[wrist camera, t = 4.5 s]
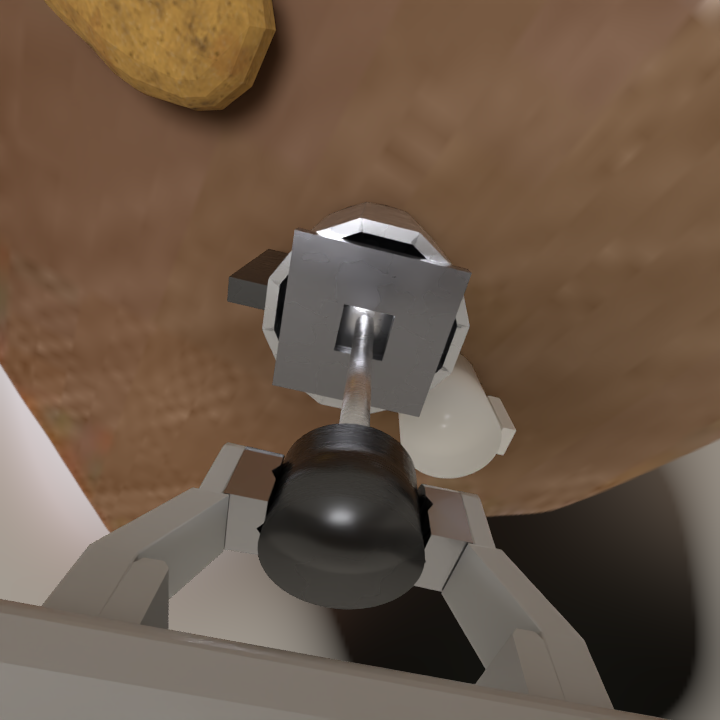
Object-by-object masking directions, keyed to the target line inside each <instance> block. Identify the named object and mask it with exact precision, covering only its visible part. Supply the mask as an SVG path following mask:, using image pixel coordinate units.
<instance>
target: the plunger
mask: <svg viewBox="0 0 720 720" xmlns="http://www.w3.org/2000/svg"><path fill="white" fill-rule="evenodd" d="M392 318H393V315H389V314H384V313H380V312H376V311H372V310H367V309H363V308H359V307H355V306H350V305H346V304H344V308H343V312H342V317H341V321H340V326H339V330H338V335H337V339H336V344H337V345H341V346H346V347H350V348H351V354H350V360H349V366H348V372H347V378H346V385H345V391H344V397H343V403H342V409H341V415H340V421H339V424H332V425H327V426H323V427H320V428H317V429H315V430H312V431H310V432H308V433H307V434H305V435H303V436H302V437H301V438H300V439H298V440H297V441H296V442H295V443H294V444H293V445H292V447H291V448H290V450H289V451H288V453H287V455H286V457H285V460H284V464H283V467H282V470H281V473H280V476H279V480H278V482H277V485H276V487H275V490H274V493H273V498H272V501H271V504H270V507H269V510H268V513H267V516H266V519H265V521H264V524H263V527H262V530H261V533H260V536H259V540H258V549H257V550H258V557H259V560H260V563H261V565H262V567H263V569H264V571H265V572H266V573H267V575H268V576H269V578H270V579H271V580H272V581H273V582H274V583H275V584H276V585H278V586H279V587H280V588H281V589H283V590H284V591H286V592H287V593H289V594H290V595H292V596H295V597H296V598H299V599H301V600H303V601H306V602H309V603H312V604H315V605H319V606H324V607H329V608H337V609H360V608H368V607H374V606H378V605H381V604H384V603H387V602H389V601H392V600H394V599H396V598H398V597H400V596H401V595H403V594H404V593H406V592H407V591H408V590H409V589H410V588H412V587H413V586H414V584H415V583H416V582H417V581H418V579H419V578H420V576H421V574H422V571H423V569H424V564H425V550H424V541H423V532H422V524H421V515H420V506H419V498H418V489H417V481H416V472H415V467H414V464H413V461H412V459H411V457H410V455H409V454H408V452H407V451H406V450H405V448H404V447H403V446H402V445H401V444H400V443H399V442H398V441H397V440H395V439H394V438H392V437H391V436H390V435H388V434H386V433H384V432H382V431H380V430H377V429H375V428H372V427H370V405H371V381H372V358H373V353H376V354H381V355H382V353H383V350H384V346H385V343H386V339H387V336H388V332H389V329H390V325H391V322H392Z"/></svg>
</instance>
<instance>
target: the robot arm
mask: <svg viewBox="0 0 720 720" xmlns="http://www.w3.org/2000/svg"><path fill="white" fill-rule="evenodd" d="M284 457H285V456H284V455H282V454H278V453H273V452H269V451H265V450H261V449H256V448H252V447H248V446H247V447H246V446H242V445H237V444H233V443H229V442H227V443H226V444H225V445H224V446H223V447H222V449H221V451H220V453H219V454H218V456H217V458H216V459H215V461H214V463H213V465H212V466H211V468H210V470H209V472H208V473H207V475H206V477H205V479H204V480H203V482H202V484H201V486H200V487H199V489H198V488H191V489H189V490H187V491H185V492H184V493H182V494H180V495H178V496H176V497H175V498H173V499H171V500H169V501H167V502H166V503H164V504H162V505H160V506H158V507H157V508H155V509H153V510H151V511H149V512H148V513H146V514H144V515H142V516H140V517H138V518H137V519H135V520H133V521H131V522H129V523H128V524H126V525H124V526H122V527H120V528H119V529H117V530H115V531H113V532H111V533H110V534H108V535H106V536H104V537H102V538H101V539H99V540H97V541H95V542H94V543H92V544H90V545H89V546H88V547H87V549H86V550H85V551H84V552H83V554H82V555H81V556H80V558H79V559H78V560H77V561H76V563H75V564H74V565H73V566H72V568H71V569H70V570H69V572H68V573H67V574H66V575H65V577H64V578H63V579H62V580H61V582H60V583H59V584H58V586H57V587H56V588H55V589H54V591H53V592H52V593H51V595H50V596H49V597H48V598H47V600H46V601H45V602H44V603H43V605H42V606H36V605H30V604H24V603H19V602H14V601H8V600H2V599H0V720H668V719H663V718H657V717H652V716H646V715H640V714H635V713H629V712H624V711H619V710H614V709H613V706H612V704H611V702H610V699H609V697H608V695H607V692H606V690H605V688H604V685H603V683H602V681H601V678H600V676H599V674H598V672H597V669H596V667H595V665H594V662H593V660H592V658H591V655H590V653H589V651H588V648H587V646H586V644H585V641H584V639H583V638H581V636H580V635H579V634H578V633H577V632H576V631H575V630H574V629H573V627H572V626H571V625H570V624H569V623H568V622H567V621H566V620H565V619H564V618H563V617H562V615H561V614H560V613H559V612H558V611H557V610H556V609H555V608H554V607H553V606H552V605H551V604H550V603H549V601H548V600H547V599H546V598H545V597H544V596H543V595H542V594H541V593H540V591H538V589H537V588H536V587H535V586H534V585H533V584H532V583H531V582H530V581H529V580H528V578H527V577H526V576H525V575H524V574H523V573H522V572H521V571H520V570H519V569H518V568H517V567H516V565H515V564H514V563H513V562H512V561H511V560H510V559H509V558H508V557H507V556H506V554H505V553H504V552H503V551H502V550H499V549H496V548H495V545H494V542H493V539H492V535H491V532H490V529H489V526H488V522H487V519H486V516H485V513H484V510H483V507H482V503H481V500H480V498H479V496H478V495H477V494H471V493H466V492H461V491H455V490H450V489H445V488H440V487H435V486H430V485H425V484H421V485H420V487H419V488H418V498H419V506H420V515H421V524H422V532H423V541H424V550H425V564H424V569H423V571H422V574H421V576H420V578H419V579H418V581H417V582H416V583H415V584H414V586H419V587H423V588H428V589H432V590H437V591H442V595H443V597H444V599H445V600H446V602H447V604H448V605H449V607H450V609H451V610H452V612H453V614H454V616H455V617H456V619H457V621H458V622H459V624H460V626H461V628H462V629H463V631H464V633H465V635H466V636H467V638H468V639H469V641H470V643H471V645H472V646H473V648H474V650H475V651H476V653H477V655H478V657H479V658H480V660H481V662H482V663H483V665H484V667H485V669H486V670H485V672H484V673H483V674H482V676H481V677H480V679H479V680H478V681H477V683H476V684H475V685H474V684H469V683H463V682H458V681H452V680H446V679H441V678H435V677H430V676H424V675H419V674H412V673H408V672H402V671H396V670H390V669H385V668H380V667H374V666H369V665H363V664H358V663H352V662H346V661H341V660H335V659H330V658H324V657H318V656H313V655H307V654H301V653H296V652H291V651H285V650H280V649H274V648H268V647H263V646H257V645H252V644H246V643H241V642H235V641H230V640H223V639H218V638H213V637H207V636H202V635H196V634H191V633H185V632H179V631H174V630H169V629H168V610H169V609H168V607H169V605H168V604H169V599H170V598H171V597H172V596H173V595H175V594H176V593H177V592H178V591H179V590H180V589H181V588H182V587H184V586H185V585H186V584H187V583H188V582H189V581H190V580H192V579H193V578H194V577H195V576H196V575H197V574H198V573H200V572H201V571H202V570H203V569H204V568H205V567H206V566H207V565H209V564H210V563H211V562H212V561H213V560H214V559H215V558H217V557H218V556H219V555H220V554H221V553H222V552H223V549H225V550H231V551H237V552H243V553H249V554H256V555H258V550H257V549H258V540H259V536H260V533H261V530H262V527H263V524H264V521H265V519H266V516H267V513H268V510H269V507H270V504H271V501H272V498H273V493H274V490H275V487H276V485H277V482H278V480H279V476H280V473H281V470H282V467H283V464H284Z"/></svg>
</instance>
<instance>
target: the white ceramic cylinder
mask: <svg viewBox="0 0 720 720" xmlns="http://www.w3.org/2000/svg"><path fill="white" fill-rule="evenodd" d="M399 427H400V441H401V445H402V446H403V447H404V448H405V450H406V451H407V452H408V454H409V455H410V457H411V459H412V461H413V464H414V467H415V469H417V470H418V471H420V472H422V473H424V474H427V475H429V476H433V477H438V478H458V477H463V476H467V475H469V474H472V473H474V472H476V471H478V470H480V469H482V468H483V467H484V466H486V465H487V464H488V463H489V462H490V461H491V460H492V459H493V458H494V456H495V455H496V454H499V455H504V453H505V451H506V449H507V447H508V445H509V444H510V442H511V440H512V438H513V436H514V434H515V432H516V429H515V427H514V425H513V423H512V421H511V419H510V417H509V415H508V414H507V412H506V410H505V408H504V406H503V404H502V402H501V400H500V398H497V397H492V396H488V397H486V395H485V392H484V390H483V388H482V386H481V384H480V382H479V380H478V377H477V375H476V373H475V371H474V369H473V367H472V365H471V363H470V362H469V361H468V360H467V359H466V358H465V357H464V356H463V355H461V354H459V355H458V358H457V360H456V363H455V365H454V368H453V371H452V372H451V374H450V375H448V376H447V377H446V378H445V379H443V380H442V381H441V382H440V383H439V384H437V385H436V386H435V387H434V388H433V389H431V390H430V391H429V392H428V394H427V397H426V400H425V402H424V405H423V408H422V411H421V413H420V416H419V417H416V416H411V415H407V414H402V413H399Z"/></svg>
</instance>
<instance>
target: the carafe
mask: <svg viewBox="0 0 720 720" xmlns="http://www.w3.org/2000/svg"><path fill="white" fill-rule="evenodd" d="M471 274H472V273H471V272H470V271H469V270H468V269H465V268H461V267H457V266H453V265H452V264H451V262H450V261H449V260H448V258H447V257H446V256H445V254H444V253H443V252H442V250H441V249H440V248H439V246H438V245H437V244H436V242H435V241H434V240H433V239H432V238H431V237H430V236H429V235H428V234H427V233H426V231H425V230H424V229H423V228H422V227H421V226H420V225H419V224H418V223H417V222H416V221H415V220H414V219H413V218H412V217H411V216H410V215H409V214H408V213H407V212H406V211H402V210H398V209H396V208H393V207H390V206H387V205H381V204H374V203H370V202H365V203H362V204H358V205H354V206H350V207H347V208H345V209H342V210H340V211H337V212H334V213H331V214H329V215H328V216H327V217H325V218H324V219H323V220H322V221H321V222H320V223H318V224H317V225H316V226H315V227H314V228H313V229H311V230H306V229H302V228H297V229H295V233H294V240H293V246H292V251H291V252H290V253H289V254H287V253H283V252H279V251H275V250H271V249H268V250H266V251H265V252H263V253H262V254H261V255H259V256H258V257H256V258H255V259H254V260H252V261H251V262H249V263H248V264H246V265H245V266H244V267H242V268H241V269H239V270H238V271H237V272H235V273H234V274H232V275H231V276H229V285H228V299H227V301H228V302H232V303H237V304H241V305H245V306H250V307H254V308H258V309H263V310H265V311H264V319H263V327H262V329H263V332H264V335H265V337H266V339H267V341H268V343H269V346H270V348H271V350H272V352H273V355H274V357H275V359H276V363H275V370H274V377H273V384H272V385H275V386H280V387H284V388H289V389H293V390H298V391H303V392H306V393H307V394H308V395H309V396H311V397H312V398H313V399H314V400H316V401H317V402H318V403H321V404H323V405H327V406H332V407H336V408H341V409H342V403H343V397H344V391H345V385H346V378H347V372H348V366H349V360H350V354H351V348H350V347H346V346H341V345H337V344H336V339H337V335H338V330H339V326H340V321H341V317H342V312H343V308H344V304H346V305H350V306H355V307H359V308H363V309H367V310H372V311H376V312H380V313H384V314H389V315H393V318H392V322H391V325H390V329H389V332H388V336H387V339H386V343H385V346H384V350H383V353H382V355H381V354H376V353H373V358H372V381H371V405H370V414H371V413H375V412H379V411H384V410H389V411H393V412H398V413H402V414H407V415H411V416H416V417H419V416H420V413H421V411H422V408H423V405H424V402H425V400H426V397H427V394H428V392H429V391H430V390H431V389H433V388H434V387H435V386H436V385H437V384H439V383H440V382H441V381H442V380H443V379H445V378H446V377H447V376H448V375H450V374H451V372H452V371H453V368H454V365H455V363H456V360H457V358H458V355H459V352H460V350H461V347H462V345H463V342H464V340H465V337H466V334H467V332H468V329H469V327H470V325H469V320H468V315H467V310H466V305H465V300H464V293H465V290H466V287H467V284H468V282H469V279H470V276H471Z"/></svg>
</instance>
